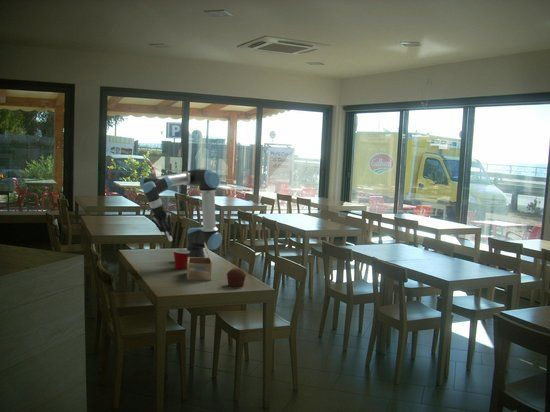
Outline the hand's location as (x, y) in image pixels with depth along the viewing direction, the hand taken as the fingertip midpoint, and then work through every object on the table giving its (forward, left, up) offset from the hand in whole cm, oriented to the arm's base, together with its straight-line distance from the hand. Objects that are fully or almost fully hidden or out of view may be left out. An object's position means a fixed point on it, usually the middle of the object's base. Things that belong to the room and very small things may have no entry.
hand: (171, 240), depth 357 cm
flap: (-9, +25, -10) cm, 29 cm away
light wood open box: (-5, +20, -20) cm, 29 cm away
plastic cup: (-15, -3, -21) cm, 26 cm away
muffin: (-1, +50, -21) cm, 54 cm away
